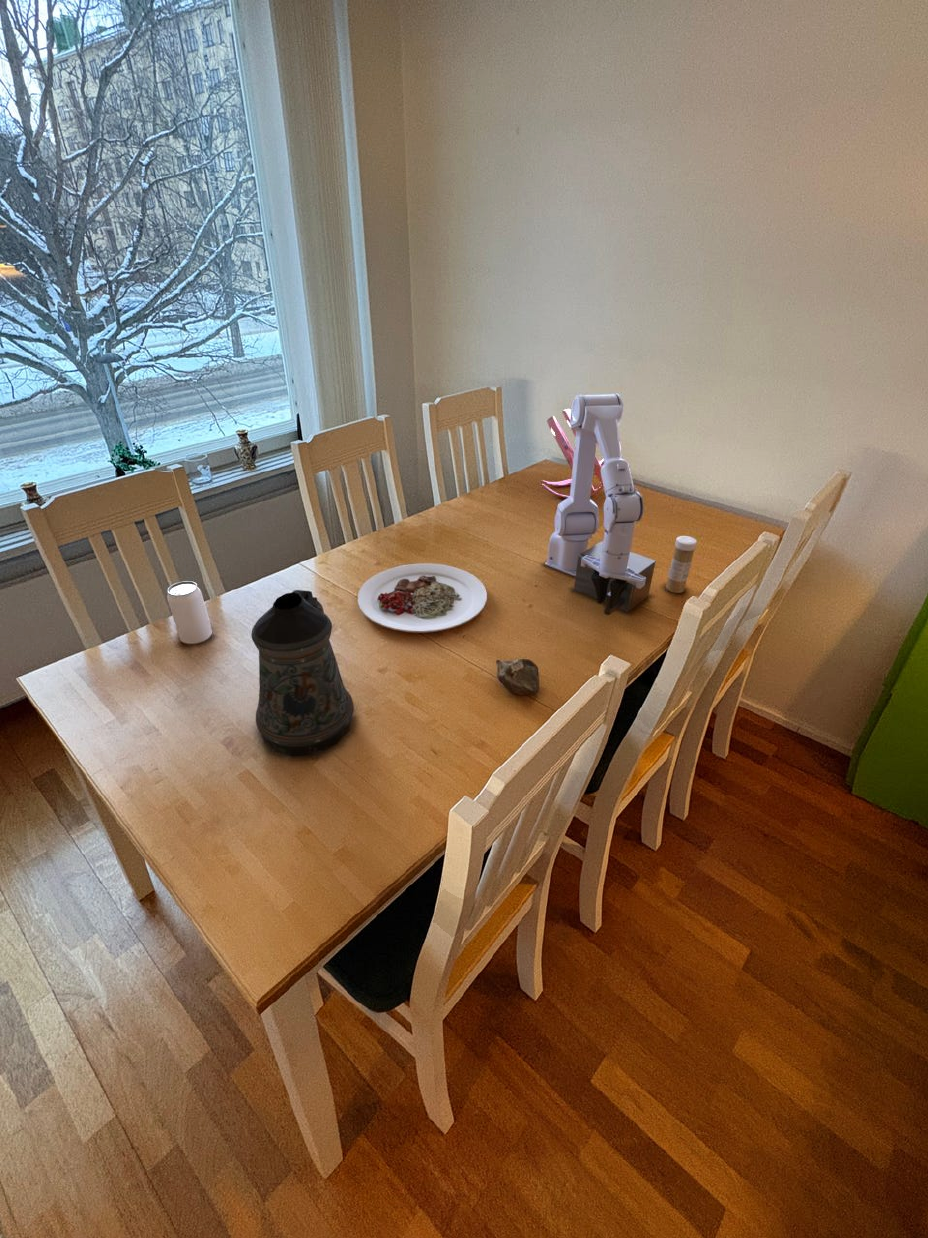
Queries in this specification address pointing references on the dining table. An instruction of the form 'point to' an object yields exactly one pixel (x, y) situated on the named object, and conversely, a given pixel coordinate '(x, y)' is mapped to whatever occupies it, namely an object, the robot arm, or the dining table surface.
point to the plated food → (422, 597)
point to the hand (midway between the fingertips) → (606, 604)
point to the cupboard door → (588, 588)
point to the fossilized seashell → (519, 676)
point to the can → (189, 612)
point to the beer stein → (299, 678)
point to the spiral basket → (569, 455)
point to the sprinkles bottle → (681, 564)
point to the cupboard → (636, 564)
